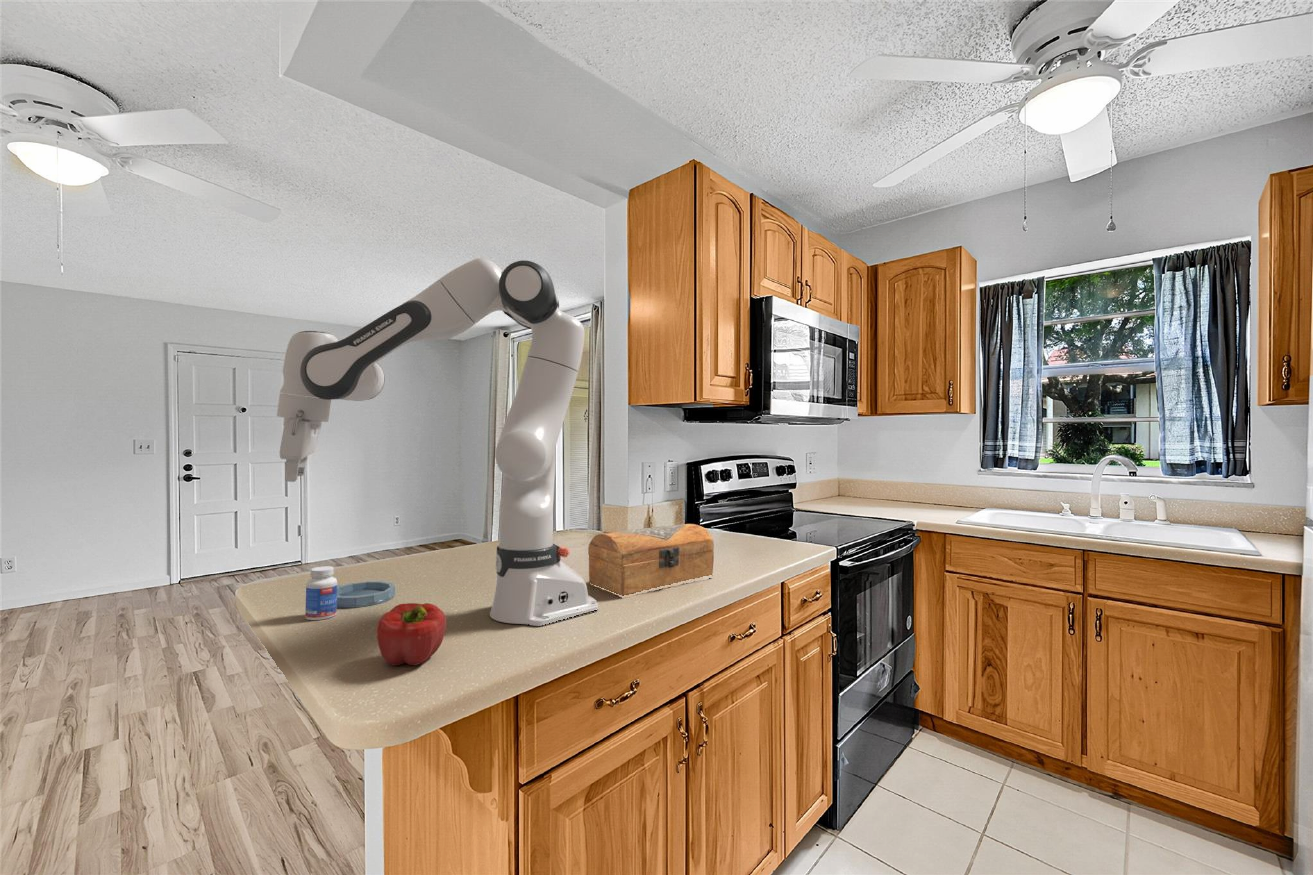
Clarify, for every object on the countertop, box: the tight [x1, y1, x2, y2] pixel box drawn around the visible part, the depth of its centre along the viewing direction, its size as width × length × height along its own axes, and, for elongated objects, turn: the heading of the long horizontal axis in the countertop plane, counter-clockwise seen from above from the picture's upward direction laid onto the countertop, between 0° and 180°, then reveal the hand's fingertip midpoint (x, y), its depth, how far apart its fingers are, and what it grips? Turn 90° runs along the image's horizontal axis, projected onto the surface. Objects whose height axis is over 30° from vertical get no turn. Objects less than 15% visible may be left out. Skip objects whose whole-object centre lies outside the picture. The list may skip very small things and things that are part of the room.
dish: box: [337, 580, 396, 609], centre depth 122 cm, size 13×13×2 cm
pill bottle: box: [304, 565, 338, 621], centre depth 110 cm, size 6×5×10 cm
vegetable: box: [376, 602, 447, 666], centre depth 89 cm, size 11×10×10 cm
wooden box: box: [587, 523, 715, 596], centre depth 140 cm, size 30×16×14 cm, turn 128°
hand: (294, 478), depth 110 cm, fingers open, 8 cm apart
